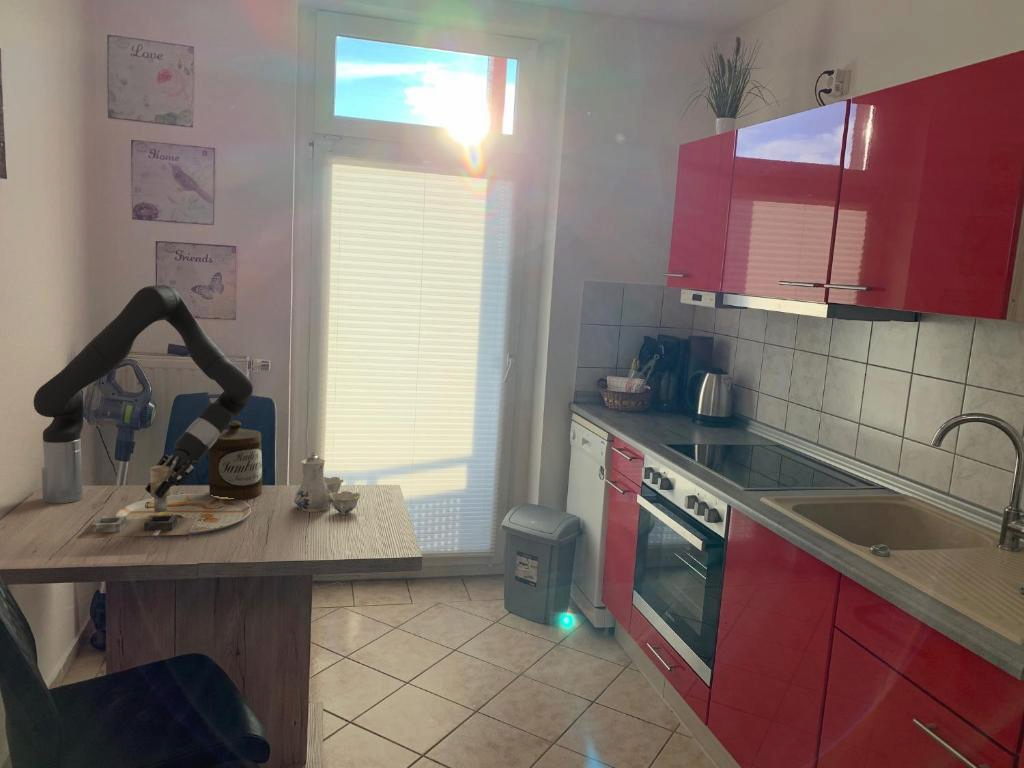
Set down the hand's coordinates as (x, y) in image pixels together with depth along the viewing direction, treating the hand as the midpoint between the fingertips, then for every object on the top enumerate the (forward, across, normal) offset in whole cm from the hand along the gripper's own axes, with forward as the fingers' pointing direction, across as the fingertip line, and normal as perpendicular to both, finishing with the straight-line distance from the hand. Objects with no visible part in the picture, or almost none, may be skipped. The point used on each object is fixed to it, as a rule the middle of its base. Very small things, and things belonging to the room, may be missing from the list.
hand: (152, 493), depth 202 cm
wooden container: (-16, -20, +31) cm, 41 cm away
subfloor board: (+9, -3, +6) cm, 11 cm away
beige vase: (+2, 0, +5) cm, 5 cm away
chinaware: (-24, +8, +40) cm, 47 cm away
